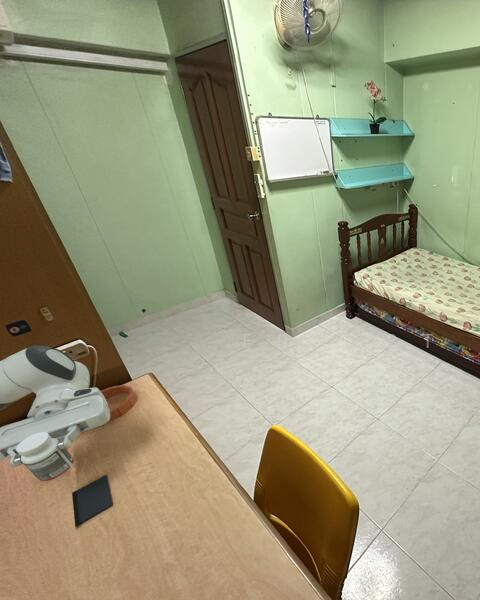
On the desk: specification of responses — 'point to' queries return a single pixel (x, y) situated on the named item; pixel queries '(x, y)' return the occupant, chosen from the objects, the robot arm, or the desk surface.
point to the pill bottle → (44, 457)
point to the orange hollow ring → (126, 404)
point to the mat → (91, 500)
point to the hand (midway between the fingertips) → (40, 455)
